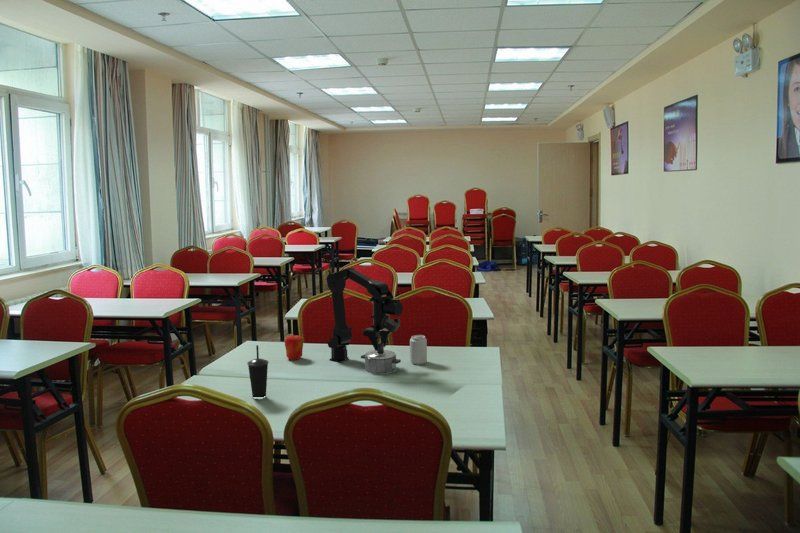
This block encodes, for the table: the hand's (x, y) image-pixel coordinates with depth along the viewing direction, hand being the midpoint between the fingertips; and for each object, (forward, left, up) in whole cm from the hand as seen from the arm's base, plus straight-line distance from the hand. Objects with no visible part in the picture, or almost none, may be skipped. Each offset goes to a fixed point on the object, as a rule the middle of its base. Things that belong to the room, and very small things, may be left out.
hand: (380, 348), depth 271 cm
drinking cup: (-22, -52, -9) cm, 57 cm away
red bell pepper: (-43, -4, -9) cm, 44 cm away
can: (+10, +16, -9) cm, 21 cm away
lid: (0, 0, -3) cm, 3 cm away
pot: (0, 0, -9) cm, 9 cm away
